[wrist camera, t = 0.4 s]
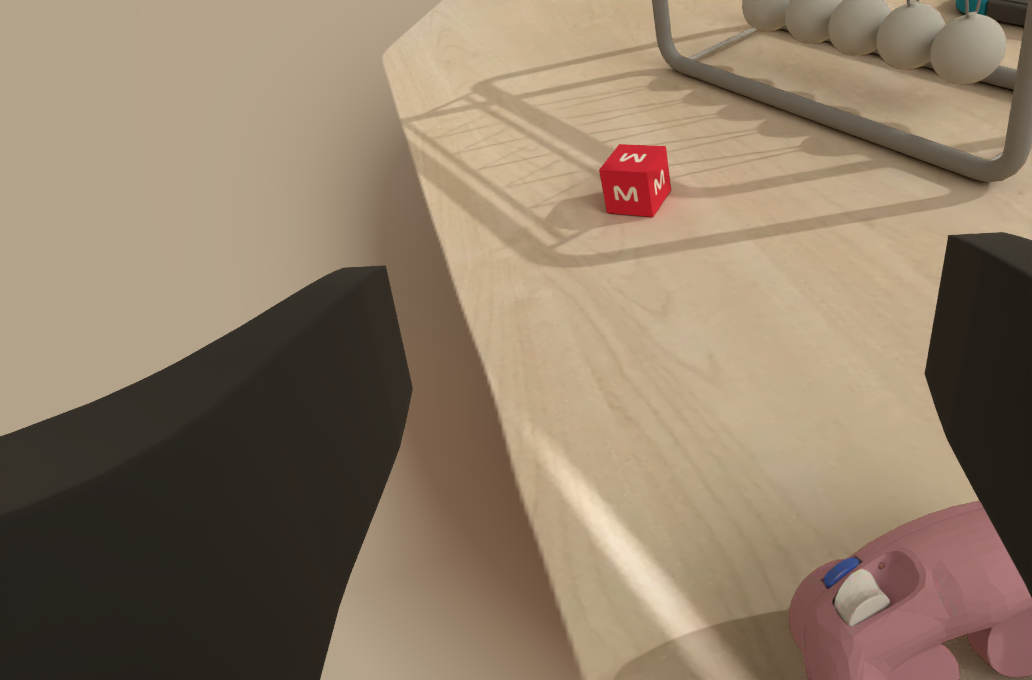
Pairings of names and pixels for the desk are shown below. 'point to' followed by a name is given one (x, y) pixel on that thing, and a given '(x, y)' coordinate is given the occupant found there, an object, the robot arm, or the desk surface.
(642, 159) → the dice
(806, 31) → the newton's cradle
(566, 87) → the desk surface
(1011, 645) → the video game controller
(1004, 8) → the gaming console
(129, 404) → the robot arm
